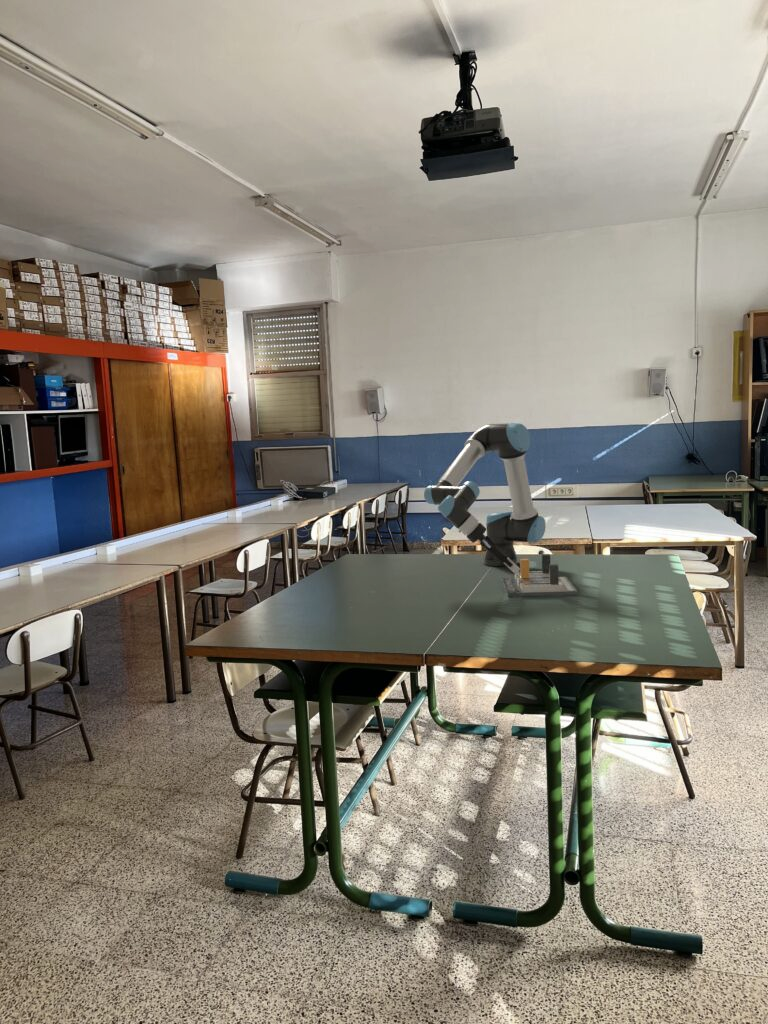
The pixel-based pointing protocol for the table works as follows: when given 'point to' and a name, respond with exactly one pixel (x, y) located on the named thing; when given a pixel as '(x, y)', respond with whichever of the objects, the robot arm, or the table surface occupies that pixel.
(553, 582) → the breaker panel
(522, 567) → the breaker handle
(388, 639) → the table surface
